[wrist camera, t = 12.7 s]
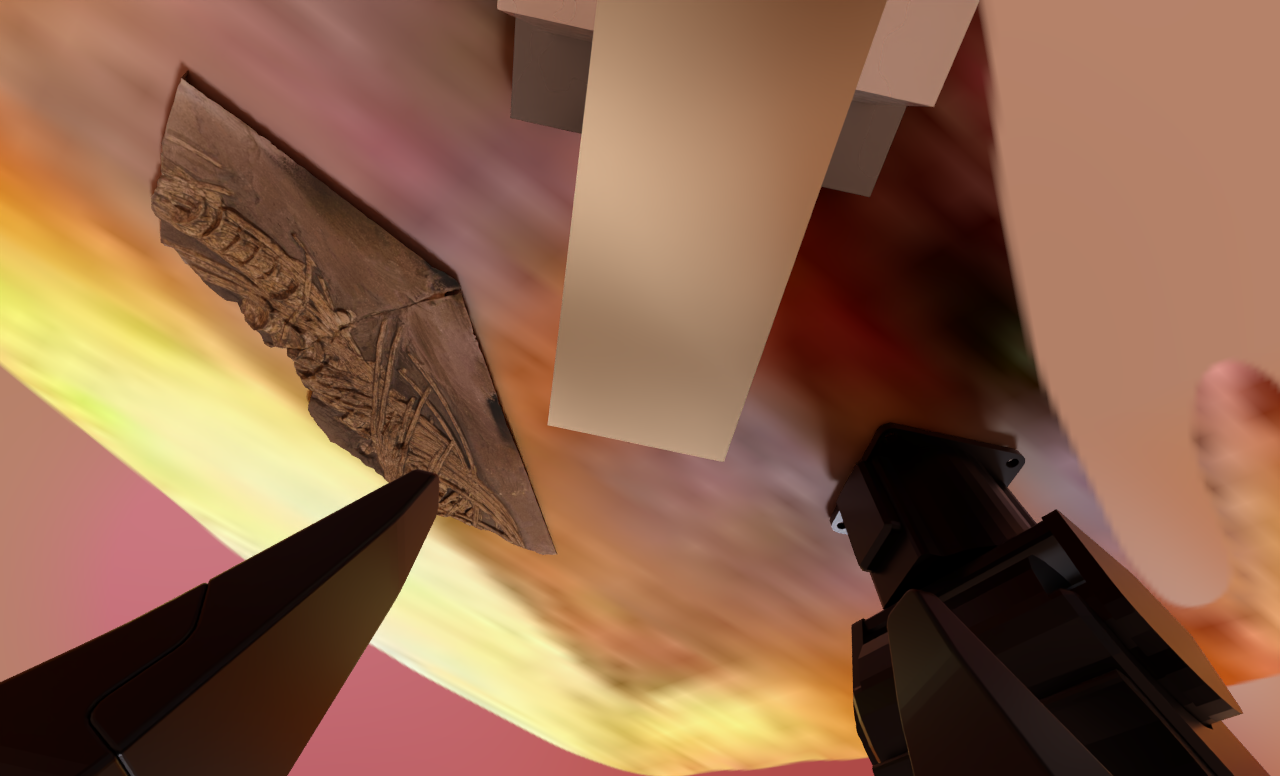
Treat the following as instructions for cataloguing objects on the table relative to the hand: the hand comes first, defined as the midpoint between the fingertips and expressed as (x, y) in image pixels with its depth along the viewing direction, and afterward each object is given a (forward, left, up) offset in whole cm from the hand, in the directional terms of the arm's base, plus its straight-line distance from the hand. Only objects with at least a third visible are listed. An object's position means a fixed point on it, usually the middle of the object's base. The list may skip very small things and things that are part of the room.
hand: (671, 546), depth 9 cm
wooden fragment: (+12, +6, -13) cm, 19 cm away
